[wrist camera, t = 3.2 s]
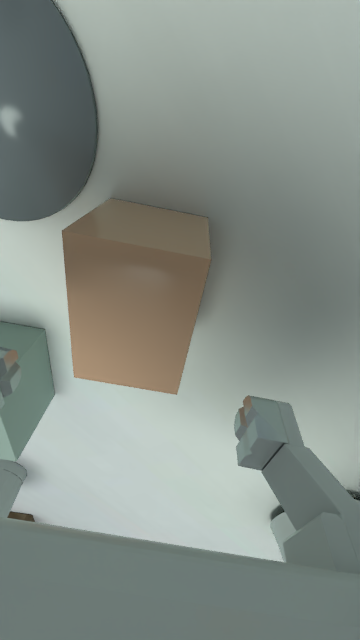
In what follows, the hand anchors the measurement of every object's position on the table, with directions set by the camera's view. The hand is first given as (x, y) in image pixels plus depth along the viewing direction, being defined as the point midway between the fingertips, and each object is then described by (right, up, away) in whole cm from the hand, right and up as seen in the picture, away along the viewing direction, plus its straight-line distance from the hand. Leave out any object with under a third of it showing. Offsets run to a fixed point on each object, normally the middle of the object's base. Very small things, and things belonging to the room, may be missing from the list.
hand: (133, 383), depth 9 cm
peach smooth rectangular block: (0, +6, +10) cm, 12 cm away
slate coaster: (-9, +14, +5) cm, 18 cm away
